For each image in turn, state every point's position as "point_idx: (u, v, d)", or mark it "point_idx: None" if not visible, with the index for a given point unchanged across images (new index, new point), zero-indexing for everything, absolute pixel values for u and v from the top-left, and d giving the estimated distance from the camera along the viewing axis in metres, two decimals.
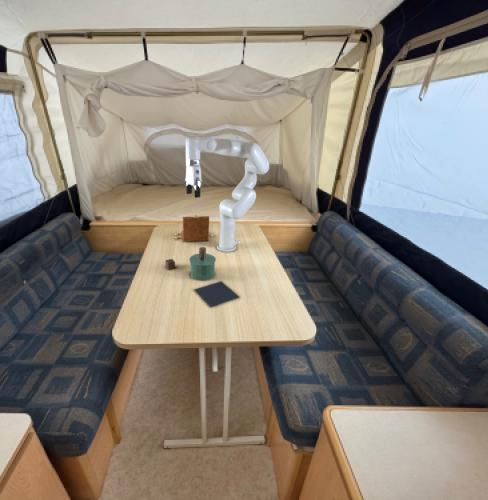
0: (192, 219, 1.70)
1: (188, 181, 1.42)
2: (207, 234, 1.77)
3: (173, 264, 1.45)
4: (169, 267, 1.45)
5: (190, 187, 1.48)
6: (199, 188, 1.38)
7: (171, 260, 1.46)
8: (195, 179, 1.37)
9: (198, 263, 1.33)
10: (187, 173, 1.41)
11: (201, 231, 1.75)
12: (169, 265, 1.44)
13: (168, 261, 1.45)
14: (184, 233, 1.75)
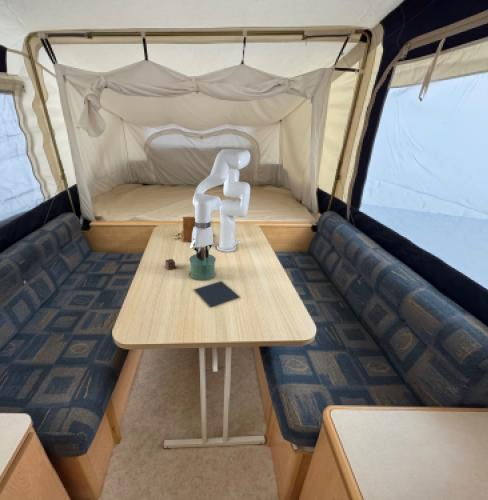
0: (192, 219, 1.70)
1: (202, 244, 1.31)
2: None
3: (173, 264, 1.45)
4: (169, 267, 1.45)
5: None
6: None
7: (171, 260, 1.46)
8: None
9: (198, 263, 1.33)
10: (201, 236, 1.29)
11: None
12: (169, 265, 1.44)
13: (168, 261, 1.45)
14: (184, 233, 1.75)
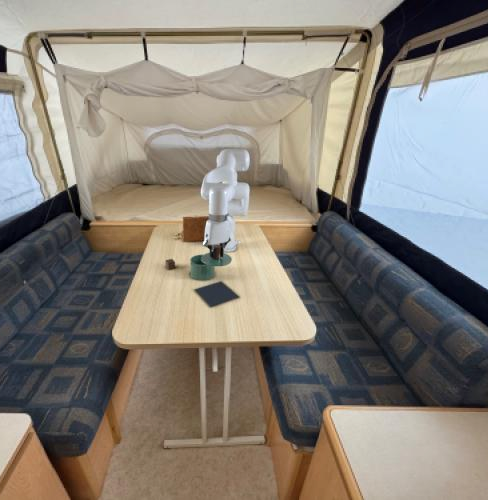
0: (192, 219, 1.70)
1: (217, 240, 1.12)
2: None
3: (173, 264, 1.45)
4: (169, 267, 1.45)
5: None
6: None
7: (171, 260, 1.46)
8: None
9: (212, 263, 1.13)
10: (216, 232, 1.09)
11: (201, 231, 1.75)
12: (169, 265, 1.44)
13: (168, 261, 1.45)
14: (184, 233, 1.75)
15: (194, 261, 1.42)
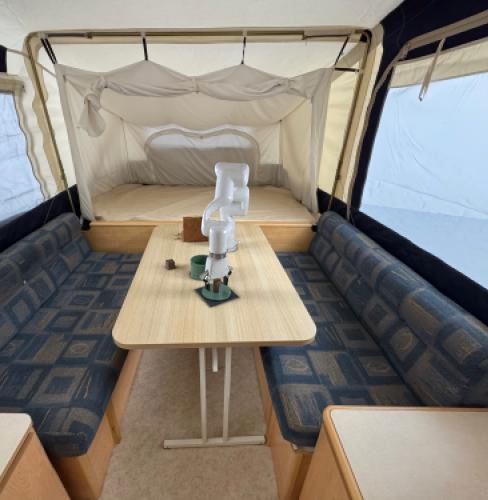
0: (192, 219, 1.70)
1: (217, 275, 1.18)
2: None
3: (173, 264, 1.45)
4: (169, 267, 1.45)
5: None
6: None
7: (171, 260, 1.46)
8: None
9: (212, 297, 1.19)
10: (216, 268, 1.16)
11: (201, 231, 1.75)
12: (169, 265, 1.44)
13: (168, 261, 1.45)
14: (184, 233, 1.75)
15: (194, 261, 1.42)
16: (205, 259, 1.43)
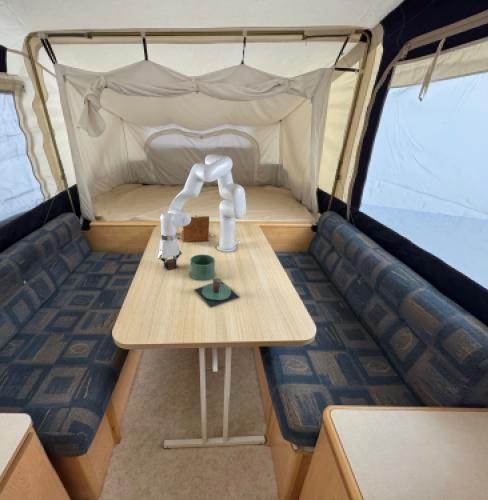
0: (192, 219, 1.70)
1: (169, 254, 1.41)
2: (207, 234, 1.77)
3: (173, 264, 1.45)
4: (169, 267, 1.45)
5: None
6: None
7: (171, 260, 1.46)
8: None
9: (212, 297, 1.19)
10: (167, 248, 1.39)
11: (201, 231, 1.75)
12: (169, 265, 1.44)
13: (168, 261, 1.45)
14: (184, 233, 1.75)
15: (194, 261, 1.42)
16: (205, 259, 1.43)
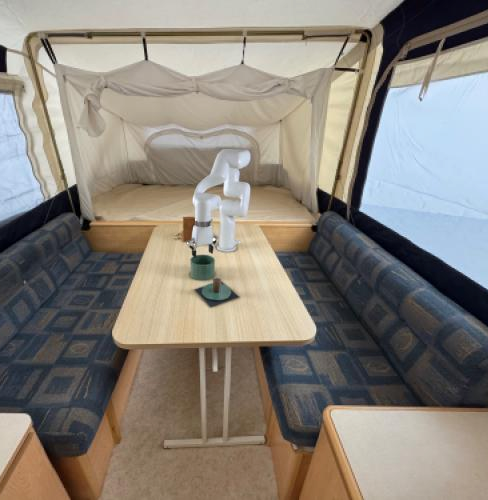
0: (192, 219, 1.70)
1: (202, 243, 1.31)
2: None
3: None
4: None
5: None
6: None
7: None
8: None
9: (212, 297, 1.19)
10: (201, 235, 1.29)
11: None
12: None
13: None
14: (184, 233, 1.75)
15: (194, 261, 1.42)
16: (205, 259, 1.43)
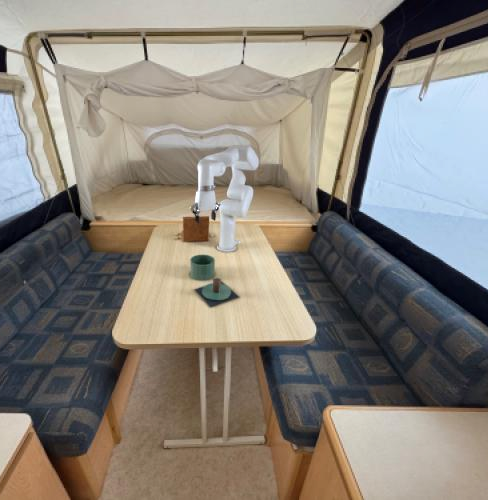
0: (192, 219, 1.70)
1: (205, 208, 1.33)
2: (207, 234, 1.77)
3: None
4: None
5: None
6: None
7: None
8: None
9: (212, 297, 1.19)
10: (204, 200, 1.31)
11: (201, 231, 1.75)
12: None
13: None
14: (184, 233, 1.75)
15: (194, 261, 1.42)
16: (205, 259, 1.43)
